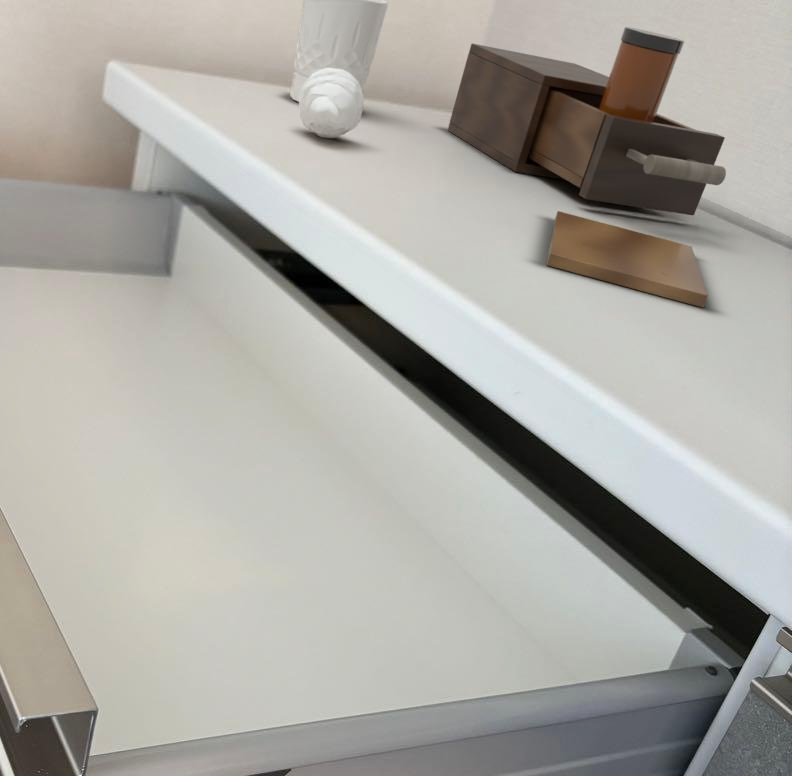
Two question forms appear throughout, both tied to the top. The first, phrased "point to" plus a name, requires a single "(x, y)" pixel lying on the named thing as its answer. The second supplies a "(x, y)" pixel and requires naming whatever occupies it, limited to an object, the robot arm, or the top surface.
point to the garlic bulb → (331, 102)
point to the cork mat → (626, 258)
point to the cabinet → (512, 102)
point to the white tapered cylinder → (337, 38)
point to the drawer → (625, 154)
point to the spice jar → (640, 74)
